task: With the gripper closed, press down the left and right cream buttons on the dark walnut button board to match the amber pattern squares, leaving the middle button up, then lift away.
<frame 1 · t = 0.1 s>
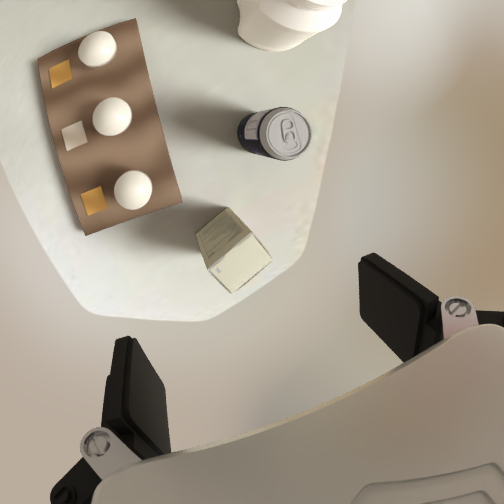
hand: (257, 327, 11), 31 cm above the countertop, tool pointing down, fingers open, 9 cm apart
button board: (105, 124, 33), on the countertop
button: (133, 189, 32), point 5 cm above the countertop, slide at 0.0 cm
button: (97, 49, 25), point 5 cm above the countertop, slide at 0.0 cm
skincare box: (221, 229, 43), on the countertop
jar: (270, 17, 32), on the countertop
button middle: (112, 116, 29), point 5 cm above the countertop, slide at 0.0 cm
beverage can: (256, 133, 39), on the countertop
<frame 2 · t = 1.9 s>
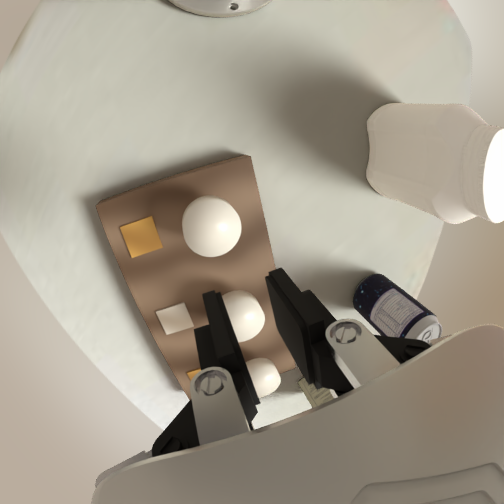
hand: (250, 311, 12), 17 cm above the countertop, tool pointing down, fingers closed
button board: (209, 296, 31), on the countertop
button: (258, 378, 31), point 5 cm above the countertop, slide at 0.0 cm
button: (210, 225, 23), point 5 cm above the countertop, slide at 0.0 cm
skincare box: (320, 373, 41), on the countertop
jar: (396, 150, 31), on the countertop
button middle: (238, 316, 27), point 5 cm above the countertop, slide at 0.0 cm
beverage can: (366, 289, 37), on the countertop
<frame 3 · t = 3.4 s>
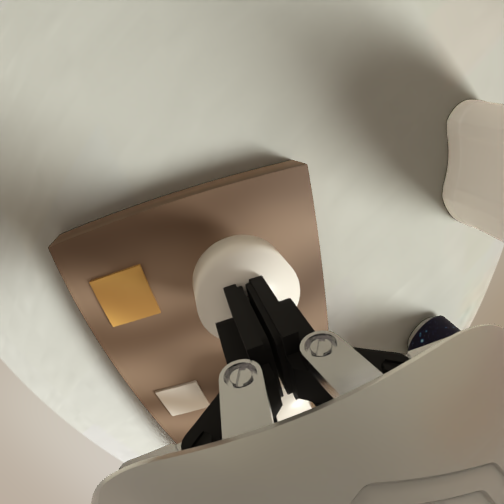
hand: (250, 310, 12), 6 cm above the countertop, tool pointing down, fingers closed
button board: (231, 363, 21), on the countertop
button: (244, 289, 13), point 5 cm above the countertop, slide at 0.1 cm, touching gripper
jar: (472, 161, 21), on the countertop
button middle: (278, 404, 17), point 5 cm above the countertop, slide at 0.0 cm
beverage can: (421, 332, 27), on the countertop
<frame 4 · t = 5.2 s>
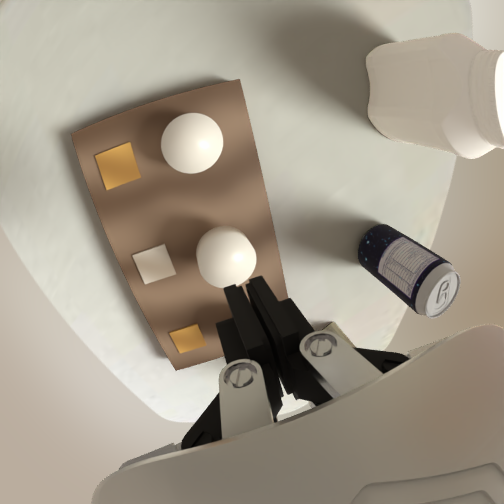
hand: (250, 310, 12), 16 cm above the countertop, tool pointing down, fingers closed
button board: (195, 241, 28), on the countertop
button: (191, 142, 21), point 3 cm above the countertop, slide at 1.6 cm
jar: (398, 92, 27), on the countertop
button middle: (225, 257, 23), point 5 cm above the countertop, slide at 0.0 cm
beverage can: (372, 243, 34), on the countertop
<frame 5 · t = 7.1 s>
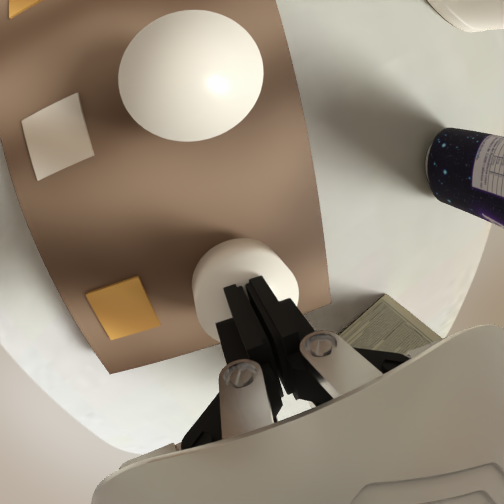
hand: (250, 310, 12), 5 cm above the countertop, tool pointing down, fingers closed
button board: (143, 107, 13), on the countertop
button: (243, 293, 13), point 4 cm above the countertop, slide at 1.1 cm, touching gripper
skincare box: (365, 329, 23), on the countertop
button middle: (189, 77, 8), point 5 cm above the countertop, slide at 0.0 cm
beverage can: (440, 163, 19), on the countertop
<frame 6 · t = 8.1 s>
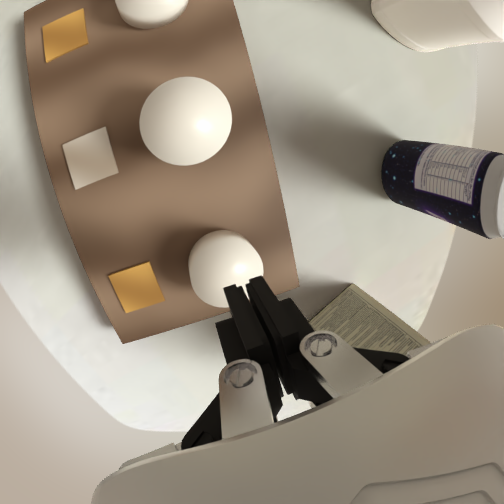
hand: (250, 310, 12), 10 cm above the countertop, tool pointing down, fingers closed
button board: (153, 136, 18), on the countertop
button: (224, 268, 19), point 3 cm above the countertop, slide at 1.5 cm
skincare box: (337, 314, 27), on the countertop
jar: (403, 2, 18), on the countertop
button middle: (184, 121, 14), point 5 cm above the countertop, slide at 0.0 cm
beverage can: (397, 170, 24), on the countertop
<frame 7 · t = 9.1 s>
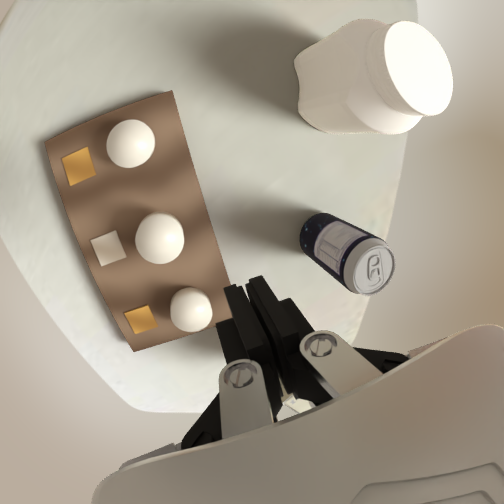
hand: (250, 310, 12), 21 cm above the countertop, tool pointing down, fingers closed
button board: (144, 230, 31), on the countertop
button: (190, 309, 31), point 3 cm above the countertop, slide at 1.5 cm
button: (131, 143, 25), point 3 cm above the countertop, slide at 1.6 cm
skincare box: (277, 332, 40), on the countertop
jar: (331, 88, 31), on the countertop
button middle: (159, 237, 27), point 5 cm above the countertop, slide at 0.0 cm
beverage can: (317, 233, 36), on the countertop
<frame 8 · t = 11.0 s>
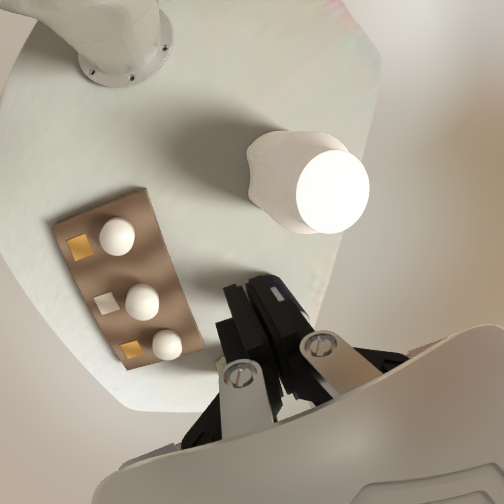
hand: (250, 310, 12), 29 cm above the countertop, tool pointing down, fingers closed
button board: (132, 288, 41), on the countertop
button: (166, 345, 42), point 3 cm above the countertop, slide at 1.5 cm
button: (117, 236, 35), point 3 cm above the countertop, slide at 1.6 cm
jar: (280, 171, 41), on the countertop
button middle: (142, 302, 37), point 5 cm above the countertop, slide at 0.0 cm
beverage can: (264, 287, 47), on the countertop
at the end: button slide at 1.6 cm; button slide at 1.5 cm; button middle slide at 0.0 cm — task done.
